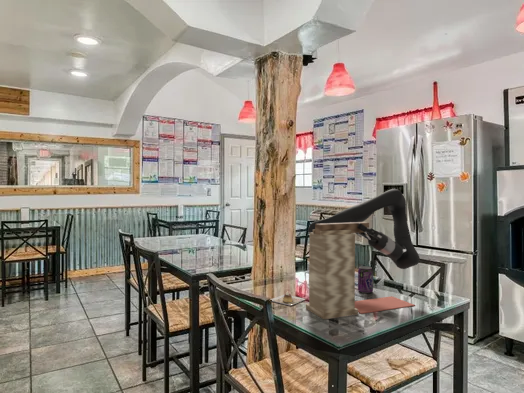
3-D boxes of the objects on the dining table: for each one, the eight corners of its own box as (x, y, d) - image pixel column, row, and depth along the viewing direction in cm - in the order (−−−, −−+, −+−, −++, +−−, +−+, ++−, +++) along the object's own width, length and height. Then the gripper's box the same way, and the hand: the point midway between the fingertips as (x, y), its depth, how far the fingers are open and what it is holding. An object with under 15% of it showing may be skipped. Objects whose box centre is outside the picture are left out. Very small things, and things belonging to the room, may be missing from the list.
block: (320, 234, 144) (320, 224, 144) (315, 233, 148) (315, 223, 148) (369, 232, 154) (369, 222, 154) (362, 231, 157) (363, 221, 157)
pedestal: (323, 319, 140) (324, 232, 139) (305, 308, 153) (306, 228, 152) (358, 314, 146) (358, 230, 145) (338, 304, 159) (338, 227, 158)
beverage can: (362, 294, 174) (362, 269, 174) (355, 290, 181) (355, 266, 181) (375, 293, 176) (376, 268, 176) (367, 289, 183) (368, 265, 183)
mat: (361, 313, 146) (361, 312, 146) (341, 303, 159) (341, 303, 159) (414, 305, 157) (414, 304, 157) (391, 297, 170) (391, 296, 170)
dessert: (284, 296, 172) (284, 286, 172) (306, 301, 165) (306, 290, 165) (269, 302, 163) (269, 291, 163) (291, 307, 155) (291, 296, 155)
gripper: (374, 233, 166) (347, 215, 160) (397, 237, 152) (368, 217, 147) (367, 248, 164) (340, 230, 159) (389, 253, 151) (360, 234, 145)
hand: (354, 224), depth 153 cm, fingers open, 5 cm apart
